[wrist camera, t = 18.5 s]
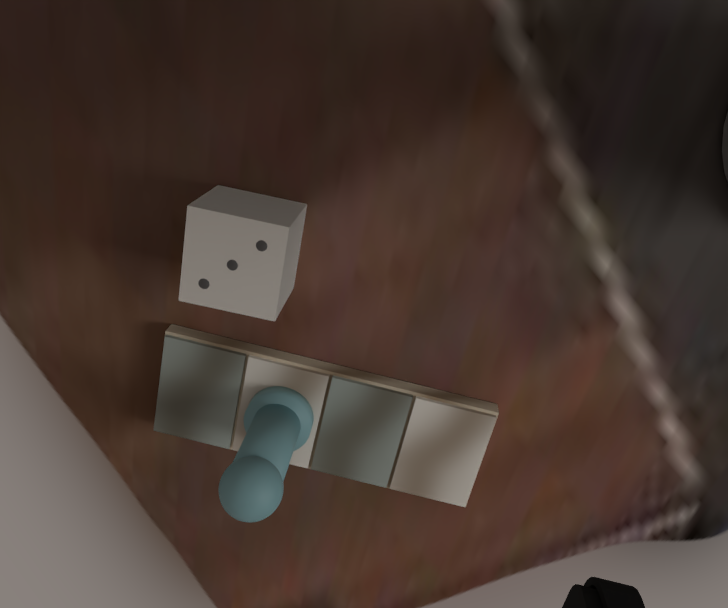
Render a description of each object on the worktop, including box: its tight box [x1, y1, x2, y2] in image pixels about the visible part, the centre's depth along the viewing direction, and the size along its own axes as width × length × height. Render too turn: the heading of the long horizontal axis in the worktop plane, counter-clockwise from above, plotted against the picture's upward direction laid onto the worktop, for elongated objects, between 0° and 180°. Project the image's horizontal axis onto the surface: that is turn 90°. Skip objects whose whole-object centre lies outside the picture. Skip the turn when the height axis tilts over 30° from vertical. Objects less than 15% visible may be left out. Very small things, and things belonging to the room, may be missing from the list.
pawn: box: [219, 386, 314, 522], centre depth 36 cm, size 4×4×9 cm
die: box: [179, 185, 307, 321], centre depth 35 cm, size 5×5×5 cm
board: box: [154, 324, 499, 507], centre depth 40 cm, size 20×7×1 cm, turn 77°
